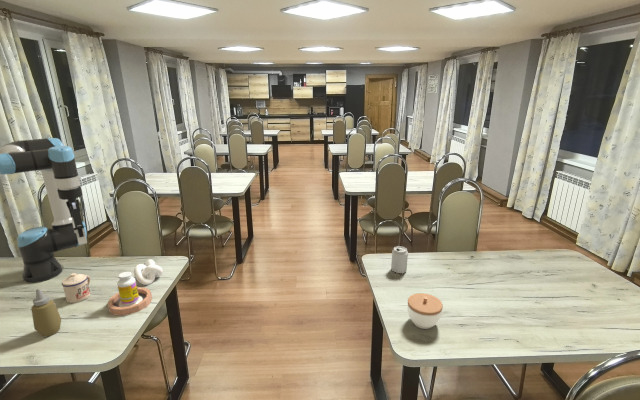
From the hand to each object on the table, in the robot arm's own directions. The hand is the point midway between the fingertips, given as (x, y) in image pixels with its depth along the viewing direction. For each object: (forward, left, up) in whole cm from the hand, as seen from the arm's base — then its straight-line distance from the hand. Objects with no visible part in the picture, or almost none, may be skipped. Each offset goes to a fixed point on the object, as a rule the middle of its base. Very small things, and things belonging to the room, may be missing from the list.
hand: (80, 237), depth 139 cm
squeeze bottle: (+13, -16, -30) cm, 36 cm away
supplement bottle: (+12, +12, -29) cm, 33 cm away
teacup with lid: (-8, -4, -30) cm, 31 cm away
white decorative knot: (-3, +22, -30) cm, 37 cm away
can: (+64, +122, -30) cm, 140 cm away
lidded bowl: (+96, +98, -30) cm, 140 cm away
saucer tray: (+12, +12, -29) cm, 34 cm away
